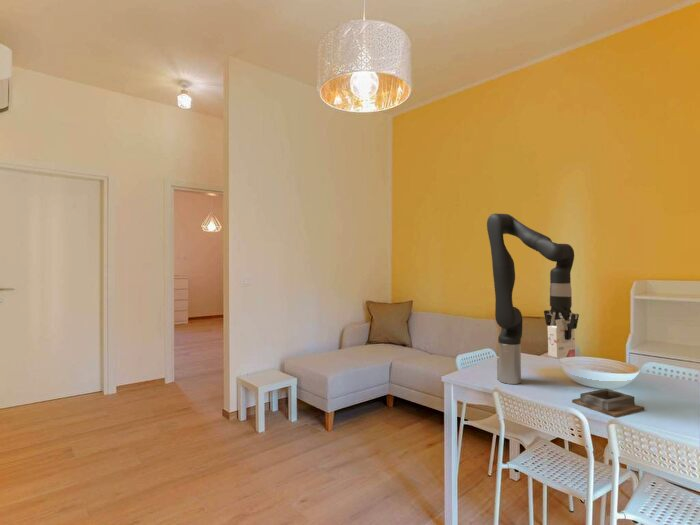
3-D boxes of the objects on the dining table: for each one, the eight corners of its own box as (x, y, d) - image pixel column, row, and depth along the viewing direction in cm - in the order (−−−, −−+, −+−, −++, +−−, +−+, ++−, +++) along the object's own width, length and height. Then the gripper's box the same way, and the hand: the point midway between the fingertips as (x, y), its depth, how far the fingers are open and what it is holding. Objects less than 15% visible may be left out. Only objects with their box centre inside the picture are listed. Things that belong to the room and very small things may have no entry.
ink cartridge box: (565, 354, 158) (564, 317, 158) (575, 356, 153) (574, 318, 153) (547, 355, 155) (546, 318, 156) (557, 358, 151) (556, 319, 151)
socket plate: (572, 402, 150) (572, 391, 150) (600, 396, 156) (600, 386, 156) (614, 417, 135) (614, 405, 135) (644, 410, 141) (644, 398, 141)
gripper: (538, 294, 159) (538, 336, 159) (570, 296, 146) (570, 342, 146) (551, 293, 162) (552, 334, 162) (584, 295, 149) (584, 340, 149)
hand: (561, 338), depth 154 cm, fingers closed on ink cartridge box, 5 cm apart
